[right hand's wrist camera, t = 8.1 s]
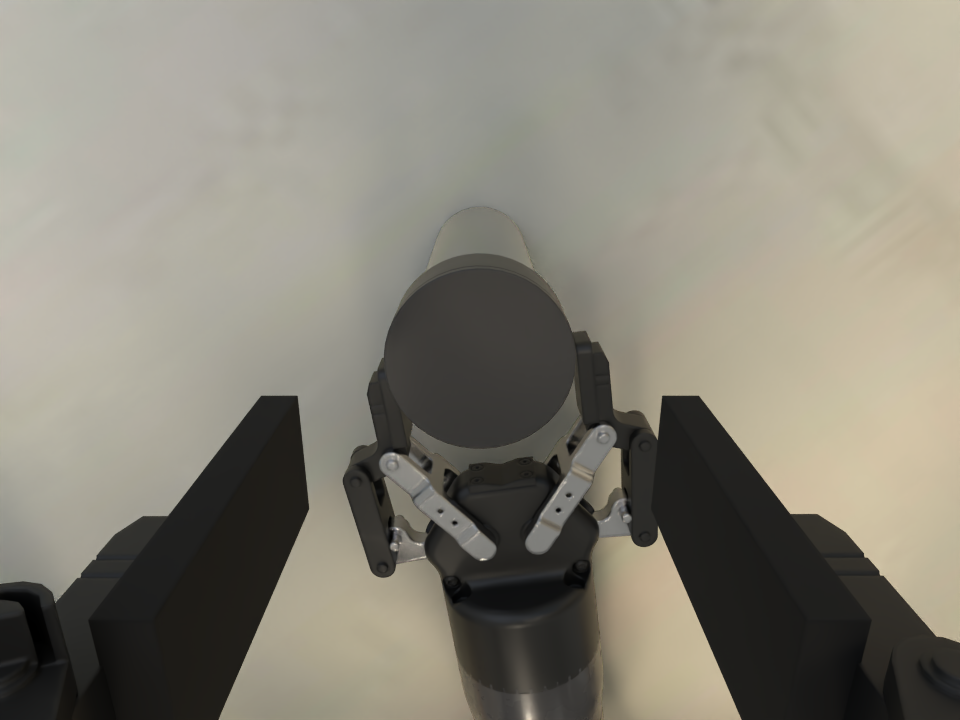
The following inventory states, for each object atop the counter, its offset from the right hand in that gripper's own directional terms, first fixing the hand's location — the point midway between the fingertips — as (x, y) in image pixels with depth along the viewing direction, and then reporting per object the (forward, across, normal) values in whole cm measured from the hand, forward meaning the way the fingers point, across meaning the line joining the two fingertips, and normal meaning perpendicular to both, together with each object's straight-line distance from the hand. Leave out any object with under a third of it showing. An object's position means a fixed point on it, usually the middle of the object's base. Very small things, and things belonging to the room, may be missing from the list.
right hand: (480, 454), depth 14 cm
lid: (+6, 0, 0) cm, 6 cm away
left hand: (+15, 0, +3) cm, 15 cm away
